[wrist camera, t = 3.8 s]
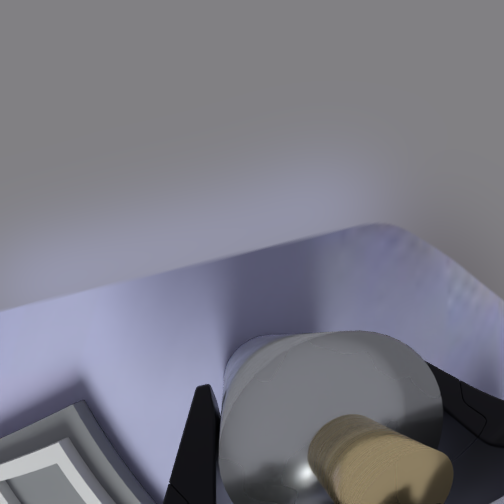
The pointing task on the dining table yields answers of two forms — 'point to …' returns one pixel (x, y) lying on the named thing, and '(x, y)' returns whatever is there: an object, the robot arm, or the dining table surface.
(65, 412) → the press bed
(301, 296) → the dining table surface
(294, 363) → the gold-capped silver bottle
